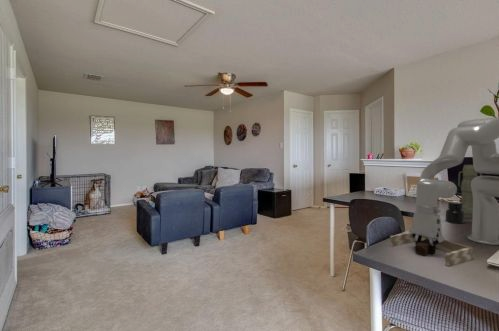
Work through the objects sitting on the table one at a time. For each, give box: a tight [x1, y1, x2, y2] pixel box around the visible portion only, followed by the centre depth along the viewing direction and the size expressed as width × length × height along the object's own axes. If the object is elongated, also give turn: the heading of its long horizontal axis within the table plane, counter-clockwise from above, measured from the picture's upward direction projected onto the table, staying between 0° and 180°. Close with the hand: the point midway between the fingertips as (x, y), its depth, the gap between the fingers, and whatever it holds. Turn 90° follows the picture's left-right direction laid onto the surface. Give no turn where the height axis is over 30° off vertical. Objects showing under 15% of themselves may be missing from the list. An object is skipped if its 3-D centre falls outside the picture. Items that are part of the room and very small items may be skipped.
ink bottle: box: [445, 201, 465, 224], centre depth 160 cm, size 10×9×12 cm
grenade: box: [457, 163, 483, 220], centre depth 171 cm, size 9×12×35 cm
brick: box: [414, 239, 437, 257], centre depth 111 cm, size 11×4×5 cm, turn 123°
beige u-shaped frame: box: [389, 231, 474, 267], centre depth 112 cm, size 17×24×4 cm
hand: (425, 251), depth 111 cm, fingers closed on brick, 4 cm apart
